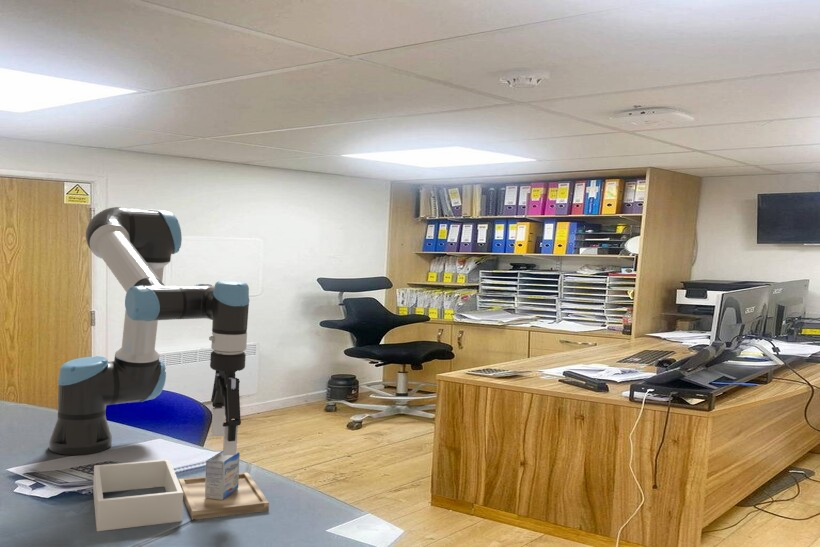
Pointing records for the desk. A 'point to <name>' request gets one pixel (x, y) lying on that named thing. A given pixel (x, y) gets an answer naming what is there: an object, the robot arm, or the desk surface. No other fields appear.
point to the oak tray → (237, 502)
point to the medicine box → (221, 476)
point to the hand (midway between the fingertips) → (223, 445)
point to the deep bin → (141, 506)
